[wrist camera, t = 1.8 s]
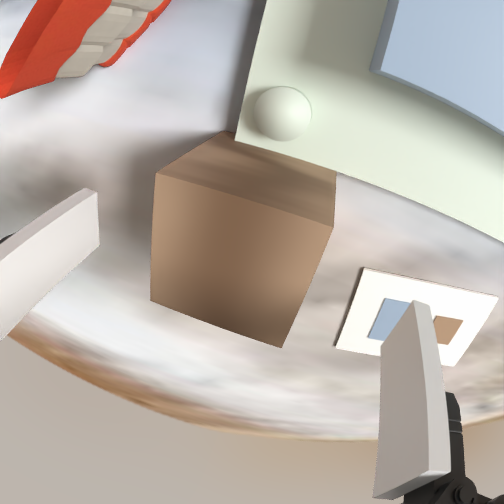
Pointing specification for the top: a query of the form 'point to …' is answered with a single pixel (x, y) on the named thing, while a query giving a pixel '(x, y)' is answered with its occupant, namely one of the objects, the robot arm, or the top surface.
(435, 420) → the robot arm
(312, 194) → the walnut block
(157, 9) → the toy
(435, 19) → the base brick
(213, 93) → the top surface
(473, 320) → the page
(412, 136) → the build plate
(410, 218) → the top surface
